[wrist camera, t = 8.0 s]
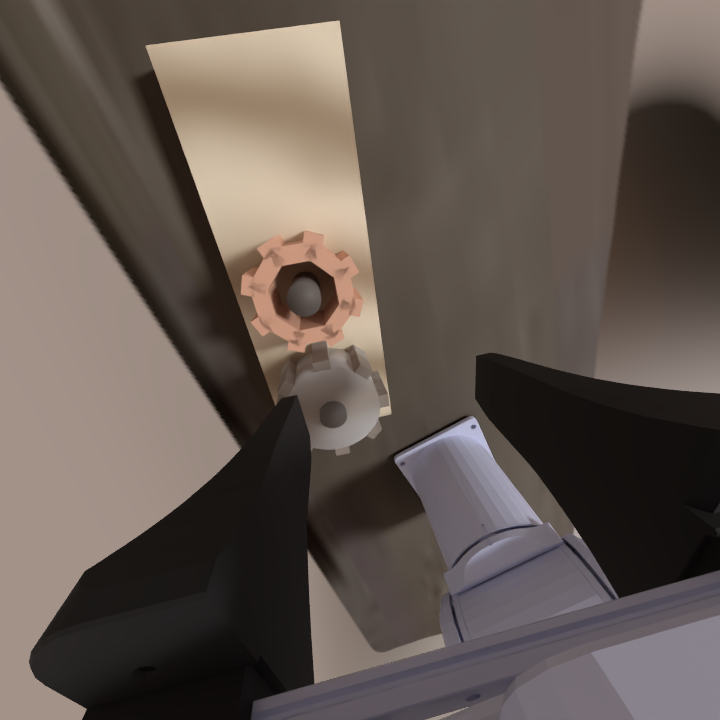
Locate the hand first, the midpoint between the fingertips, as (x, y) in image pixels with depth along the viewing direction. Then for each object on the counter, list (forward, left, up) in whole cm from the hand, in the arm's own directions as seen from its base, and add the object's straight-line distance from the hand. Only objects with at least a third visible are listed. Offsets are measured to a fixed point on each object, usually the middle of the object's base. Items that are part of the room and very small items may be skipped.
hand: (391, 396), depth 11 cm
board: (+4, +1, -9) cm, 10 cm away
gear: (+4, +1, -8) cm, 9 cm away
